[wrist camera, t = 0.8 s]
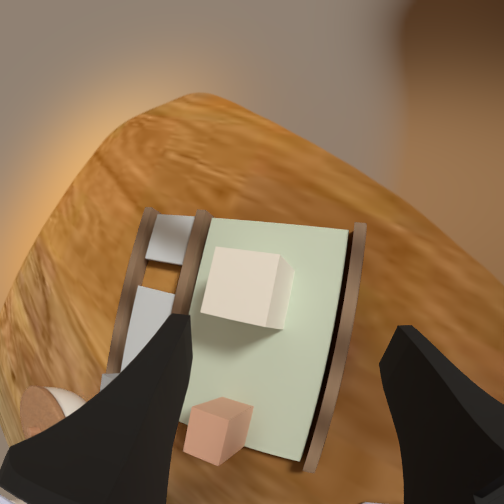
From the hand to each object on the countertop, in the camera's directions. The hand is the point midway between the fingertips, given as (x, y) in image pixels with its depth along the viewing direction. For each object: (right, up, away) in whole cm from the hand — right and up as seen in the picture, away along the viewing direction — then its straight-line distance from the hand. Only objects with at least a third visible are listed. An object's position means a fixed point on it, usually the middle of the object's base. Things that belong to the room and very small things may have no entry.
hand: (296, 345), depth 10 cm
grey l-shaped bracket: (-12, -7, +19) cm, 24 cm away
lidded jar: (-22, -19, +20) cm, 35 cm away
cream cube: (-1, 0, +16) cm, 16 cm away
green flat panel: (-1, -4, +16) cm, 17 cm away
